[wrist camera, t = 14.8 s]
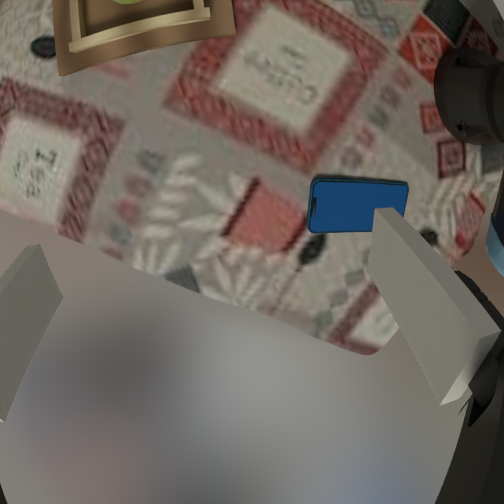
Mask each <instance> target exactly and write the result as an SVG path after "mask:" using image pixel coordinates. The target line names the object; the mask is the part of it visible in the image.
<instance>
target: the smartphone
mask: <svg viewBox="0 0 504 504" xmlns="http://www.w3.org/2000/svg"><path fill="white" fill-rule="evenodd" d="M408 192H409V187H408V185H406V184H405V183H397V182H383V181H368V180H351V179H327V178H317V179H315V180H313V181H312V183H311V186H310V196H309V205H308V214H307V223H306V226H307V229H308V230H309V231H310V232H311V233H340V232H372V230H373V221H374V211H375V208H390V207H393V208H394V209H395V210H396V211H397V212H398V213H399V214H400V215H401V216H402V217H404V212H405V207H406V202H407V197H408Z"/></svg>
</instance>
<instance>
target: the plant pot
mask: <svg viewBox="0 0 504 504" xmlns="http://www.w3.org/2000/svg"><path fill="white" fill-rule="evenodd" d="M112 1H114V2H117V3H119V4H133V3H138V2H140V1H142V0H112Z"/></svg>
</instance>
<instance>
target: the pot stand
mask: <svg viewBox="0 0 504 504" xmlns="http://www.w3.org/2000/svg"><path fill="white" fill-rule="evenodd" d="M52 5H53V23H54V36H55V47H56V56H57V64H58V72H59V76H66V75H69V74H72V73H74V72H77V71H80V70H83V69H86V68H89V67H92V66H95V65H98V64H101V63H104V62H107V61H110V60H114V59H117V58H121V57H124V56H128V55H132V54H135V53H139V52H143V51H147V50H152V49H156V48H161V47H165V46H170V45H175V44H180V43H186V42H191V41H197V40H204V39H211V38H218V37H226V36H235V34H236V30H235V23H234V16H233V8H232V1H231V0H142V1H140V2H138V3H133V4H119V3H117V2H114V1H112V0H52Z"/></svg>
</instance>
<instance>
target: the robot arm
mask: <svg viewBox="0 0 504 504" xmlns="http://www.w3.org/2000/svg"><path fill="white" fill-rule="evenodd" d="M435 99H436V105H437V109H438V112H439V115H440V117H441V119H442V122H443V123H444V125H445V127H446V128H447V130H448V131H449V132H450V133H451V134H452V135H453V136H454V137H455V138H457V139H459V140H461V141H463V142H466V143H469V144H473V145H488V144H499V143H504V61H501V60H499V59H497V58H495V57H493V56H491V55H489V54H487V53H485V52H482V51H480V50H478V49H474V48H455V49H452V50H450V51H449V52H447V53H446V54H445V55H444V57H443V58H442V59H441V61H440V63H439V65H438V68H437V71H436V76H435ZM486 249H487V252H488V256H489V258H490V260H491V262H492V263H493V265H494V266H495V267H496V269H497V270H498V271H499V272H500V273H501V274H502V275H503V277H504V169H503V174H502V178H501V182H500V186H499V191H498V194H497V198H496V202H495V206H494V209H493V212H492V213H491V216H490V226H489V229H488V233H487V237H486ZM367 271H368V273H369V275H370V276H371V278H372V280H373V281H374V283H375V285H376V286H377V288H378V290H379V292H380V293H381V295H382V297H383V298H384V300H385V302H386V304H387V305H388V307H389V309H390V311H391V313H392V314H393V316H394V318H395V320H396V322H397V323H398V325H399V327H400V329H401V331H402V333H403V335H404V336H405V338H406V340H407V342H408V344H409V346H410V348H411V350H412V352H413V353H414V355H415V357H416V359H417V361H418V363H419V365H420V367H421V369H422V371H423V373H424V375H425V377H426V379H427V381H428V384H429V386H430V388H431V390H432V392H433V394H434V396H435V398H436V400H437V402H438V405H439V406H440V405H443V404H446V403H448V402H451V401H454V400H456V399H459V398H460V397H461V396H462V394H463V393H464V391H465V389H466V388H467V387H468V386H469V388H470V389H471V391H472V393H473V394H472V395H471V397H470V398H469V399H468V401H467V402H466V404H465V405H464V406H463V407H462V409H461V410H460V412H459V414H458V415H459V416H462V414H463V413H464V412H465V411H466V414H465V418H464V422H463V425H462V429H461V432H460V436H459V439H458V443H457V446H456V449H455V452H454V455H453V458H452V461H451V464H450V467H449V469H448V472H447V475H446V477H445V480H444V483H443V485H442V488H441V490H440V493H439V495H438V498H437V500H436V502H435V504H504V318H503V316H502V315H501V314H500V313H499V311H498V310H497V309H496V308H495V306H494V305H493V304H492V303H491V302H490V301H488V298H487V297H486V296H485V294H484V293H483V292H481V291H480V288H479V287H478V286H477V285H476V284H475V283H474V281H473V280H472V279H471V278H469V277H468V276H466V275H465V274H463V273H461V272H460V271H453V270H452V269H451V268H450V267H449V266H448V264H447V263H446V262H445V261H444V260H443V259H442V258H441V257H440V256H439V254H438V253H437V252H436V251H435V250H434V249H433V248H432V247H431V246H430V245H429V244H428V243H427V241H426V240H425V239H424V238H423V237H422V236H421V235H420V234H419V233H418V232H417V231H416V230H415V229H414V228H413V227H412V226H411V225H410V224H409V223H408V222H407V221H406V220H405V219H404V218H403V217H402V216H401V215H400V214H399V213H398V212H397V211H396V210H395V209H394V208H393V207H390V208H375V211H374V221H373V230H372V238H371V246H370V253H369V260H368V267H367ZM62 298H63V296H62V294H61V292H60V290H59V288H58V286H57V283H56V281H55V279H54V277H53V274H52V272H51V270H50V268H49V265H48V263H47V261H46V258H45V256H44V253H43V251H42V248H41V246H40V244H37V245H31V246H27V247H26V248H25V249H24V250H23V251H22V253H21V254H20V255H19V256H18V257H17V258H16V259H15V261H14V262H13V263H12V264H11V265H10V267H9V268H8V269H7V270H6V271H5V273H4V274H3V275H2V277H1V278H0V421H1V422H5V420H6V417H7V414H8V412H9V409H10V407H11V404H12V402H13V399H14V397H15V394H16V392H17V389H18V387H19V385H20V382H21V380H22V378H23V376H24V373H25V371H26V369H27V367H28V365H29V362H30V360H31V358H32V356H33V354H34V352H35V350H36V348H37V346H38V344H39V342H40V340H41V338H42V336H43V334H44V332H45V330H46V328H47V326H48V324H49V322H50V320H51V318H52V317H53V315H54V313H55V311H56V309H57V307H58V306H59V304H60V302H61V300H62ZM466 409H467V410H466ZM0 504H7V502H6V499H5V496H4V494H3V490H2V487H1V484H0Z"/></svg>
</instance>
